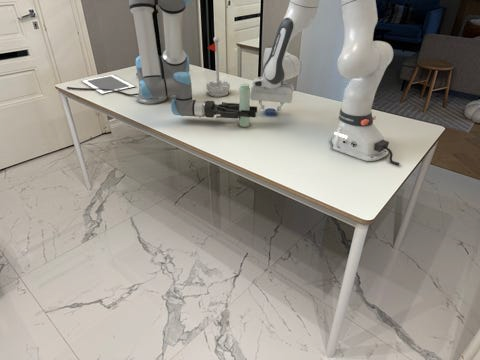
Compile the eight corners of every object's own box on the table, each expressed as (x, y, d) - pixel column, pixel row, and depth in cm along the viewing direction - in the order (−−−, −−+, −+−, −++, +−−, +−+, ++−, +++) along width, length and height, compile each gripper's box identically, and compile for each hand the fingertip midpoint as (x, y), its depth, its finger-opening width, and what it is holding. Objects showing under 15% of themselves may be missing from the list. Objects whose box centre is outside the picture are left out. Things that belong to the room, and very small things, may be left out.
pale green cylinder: (237, 125, 155) (237, 85, 145) (242, 122, 158) (242, 82, 148) (246, 127, 153) (246, 87, 143) (251, 124, 156) (251, 84, 146)
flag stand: (225, 88, 199) (224, 33, 182) (233, 95, 188) (232, 38, 172) (204, 91, 195) (200, 35, 178) (210, 98, 184) (207, 39, 168)
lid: (276, 112, 168) (276, 108, 167) (275, 116, 164) (275, 112, 163) (265, 111, 169) (265, 107, 168) (264, 115, 165) (264, 111, 164)
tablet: (81, 81, 211) (81, 80, 210) (113, 75, 222) (113, 74, 222) (102, 94, 190) (101, 93, 190) (135, 86, 201) (135, 86, 201)
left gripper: (210, 109, 164) (258, 112, 160) (201, 124, 149) (253, 127, 146) (209, 94, 159) (258, 97, 156) (199, 108, 145) (254, 111, 142)
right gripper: (295, 81, 158) (292, 109, 166) (252, 78, 162) (251, 105, 170) (293, 85, 153) (291, 113, 161) (249, 82, 157) (249, 110, 165)
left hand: (256, 111), depth 151 cm, fingers closed on pale green cylinder, 5 cm apart
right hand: (270, 109), depth 165 cm, fingers open, 7 cm apart
